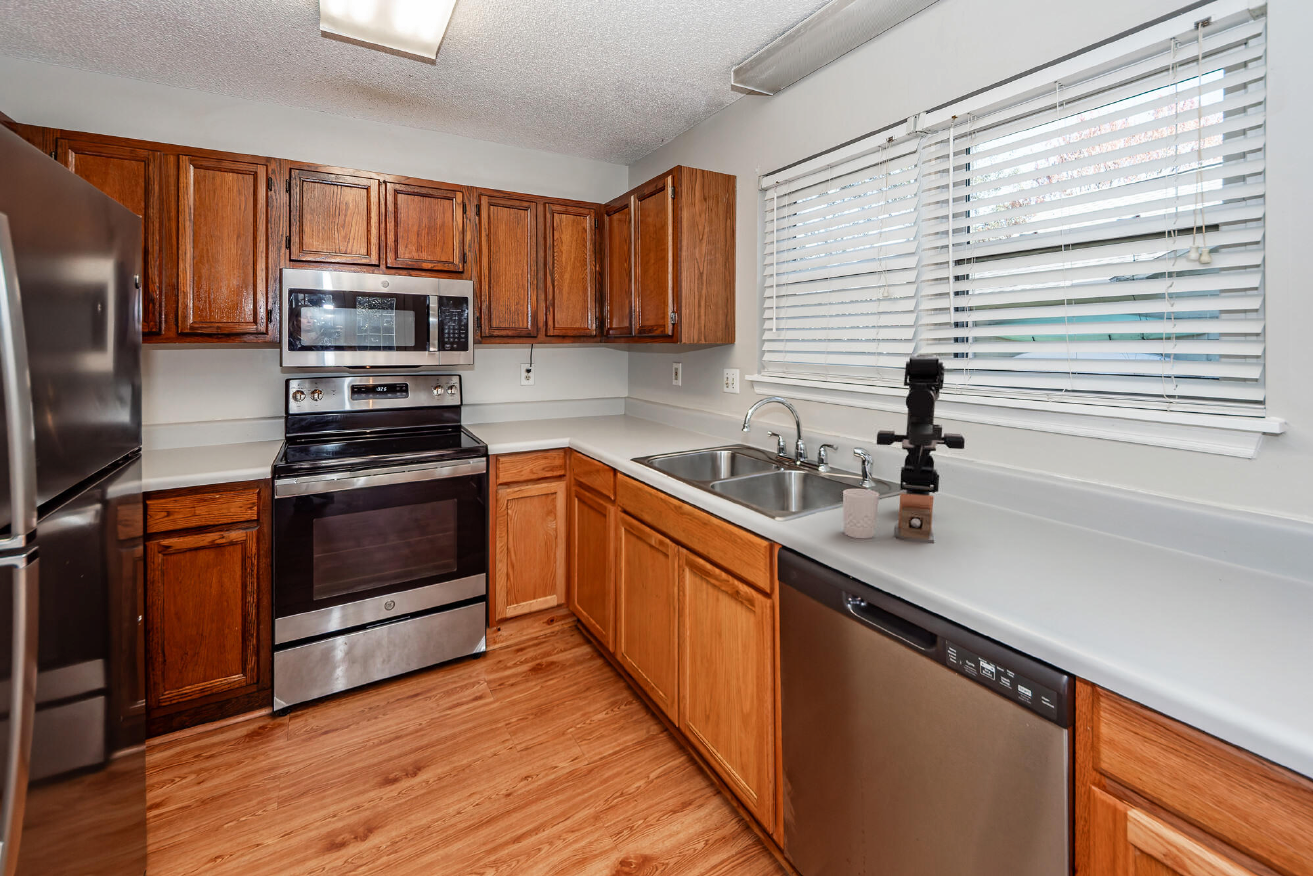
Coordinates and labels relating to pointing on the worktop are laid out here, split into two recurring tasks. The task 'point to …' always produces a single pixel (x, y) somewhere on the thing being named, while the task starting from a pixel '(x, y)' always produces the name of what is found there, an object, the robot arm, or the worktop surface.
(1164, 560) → the worktop surface
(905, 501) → the copper wooden slab
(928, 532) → the bearing block
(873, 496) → the white cup
